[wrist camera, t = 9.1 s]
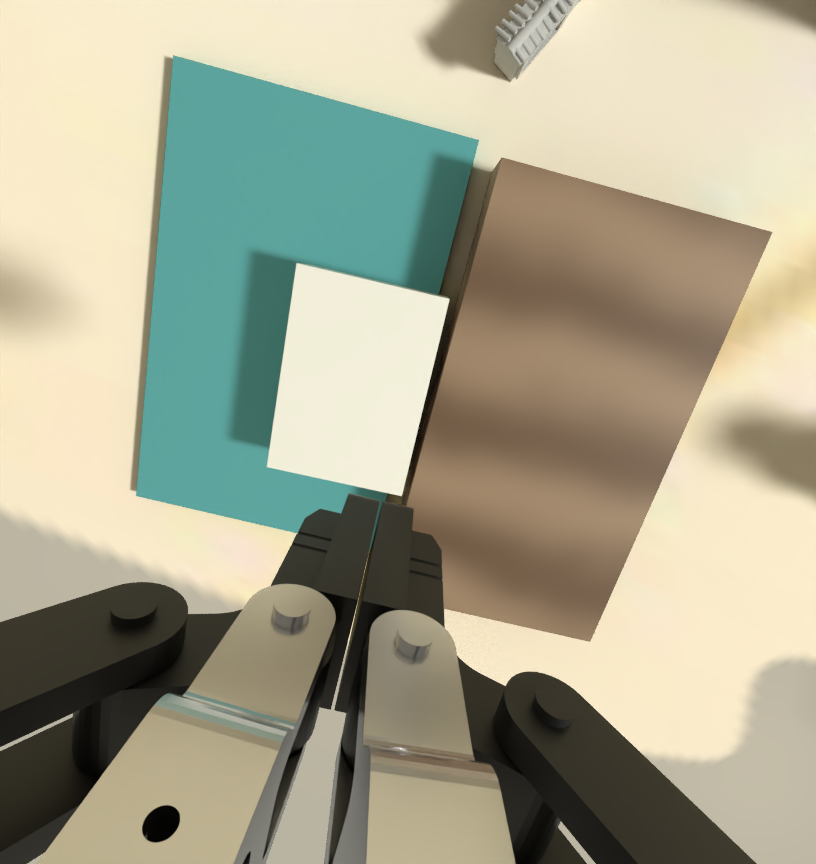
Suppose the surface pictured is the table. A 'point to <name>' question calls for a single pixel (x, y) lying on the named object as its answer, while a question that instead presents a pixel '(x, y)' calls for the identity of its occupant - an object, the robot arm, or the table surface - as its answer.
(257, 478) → the teal mat
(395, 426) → the ivory tile
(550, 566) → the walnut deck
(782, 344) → the table surface
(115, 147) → the table surface
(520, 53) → the grey bracket plate
